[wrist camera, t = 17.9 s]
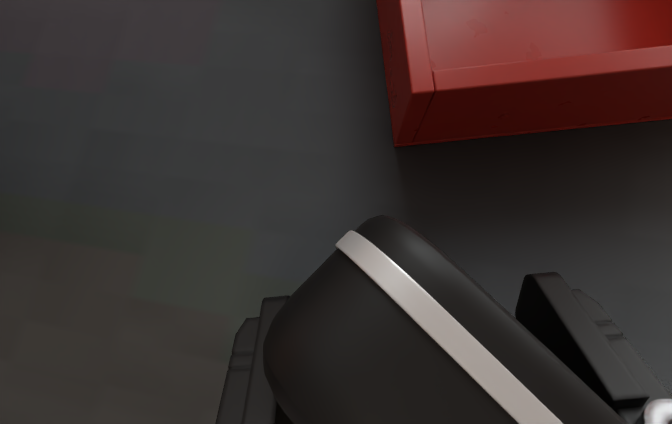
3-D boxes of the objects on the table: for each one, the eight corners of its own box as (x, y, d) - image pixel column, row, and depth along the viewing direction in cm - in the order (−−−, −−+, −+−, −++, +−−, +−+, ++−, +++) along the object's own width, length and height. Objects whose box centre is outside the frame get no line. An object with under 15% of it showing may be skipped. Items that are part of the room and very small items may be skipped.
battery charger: (301, 306, 16) (187, 368, 5) (361, 244, 17) (376, 179, 6) (419, 429, 15) (594, 844, 4) (480, 360, 16) (799, 573, 4)
